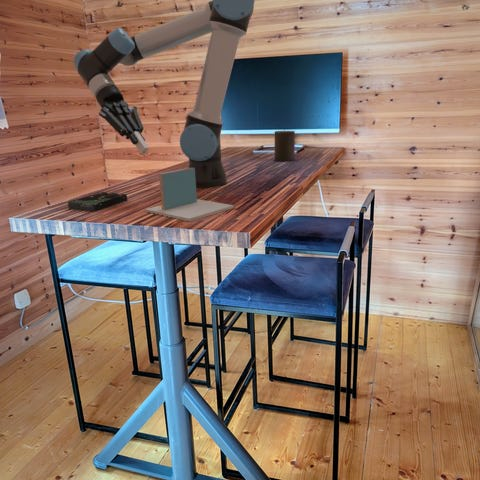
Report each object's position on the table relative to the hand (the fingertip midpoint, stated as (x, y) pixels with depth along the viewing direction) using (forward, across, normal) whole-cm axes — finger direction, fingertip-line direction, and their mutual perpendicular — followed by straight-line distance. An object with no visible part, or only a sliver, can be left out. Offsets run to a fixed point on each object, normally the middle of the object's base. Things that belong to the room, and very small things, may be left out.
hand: (145, 151), depth 131 cm
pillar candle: (-1, -96, -24) cm, 98 cm away
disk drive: (+4, +11, -20) cm, 23 cm away
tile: (+20, 0, -1) cm, 20 cm away
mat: (+23, 0, +1) cm, 23 cm away
